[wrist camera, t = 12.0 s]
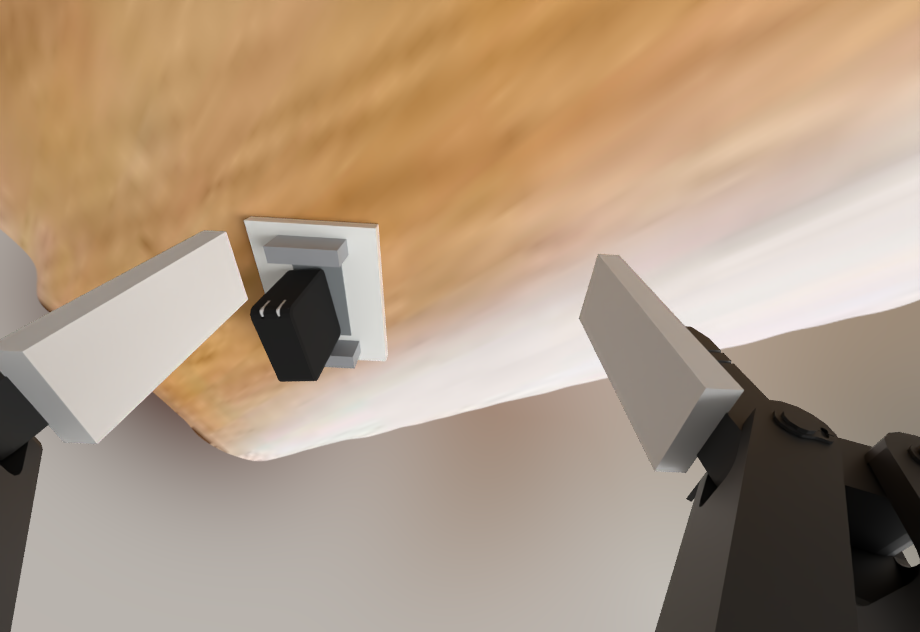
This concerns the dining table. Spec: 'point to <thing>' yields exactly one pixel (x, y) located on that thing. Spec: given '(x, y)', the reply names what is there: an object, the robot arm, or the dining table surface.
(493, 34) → the dining table surface
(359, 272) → the mounting board
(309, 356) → the electronic device
